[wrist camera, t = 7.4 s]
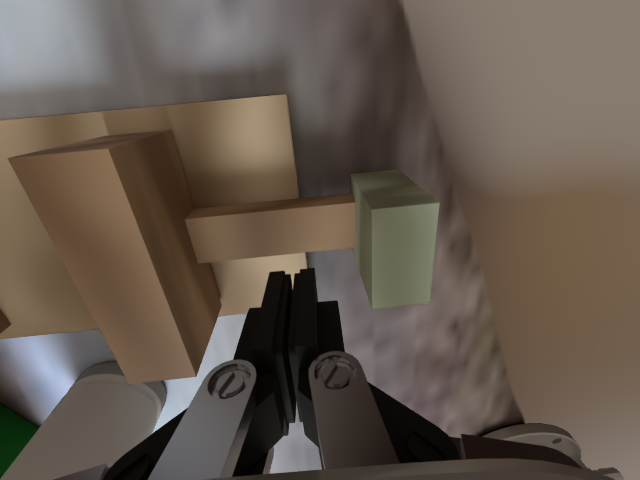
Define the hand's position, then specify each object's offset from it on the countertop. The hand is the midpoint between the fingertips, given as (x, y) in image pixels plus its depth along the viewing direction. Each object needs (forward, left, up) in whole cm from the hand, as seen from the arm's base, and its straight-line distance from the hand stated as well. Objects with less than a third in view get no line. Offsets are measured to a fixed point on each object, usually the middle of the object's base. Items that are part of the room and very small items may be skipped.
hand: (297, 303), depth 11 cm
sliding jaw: (+1, -1, -6) cm, 6 cm away
